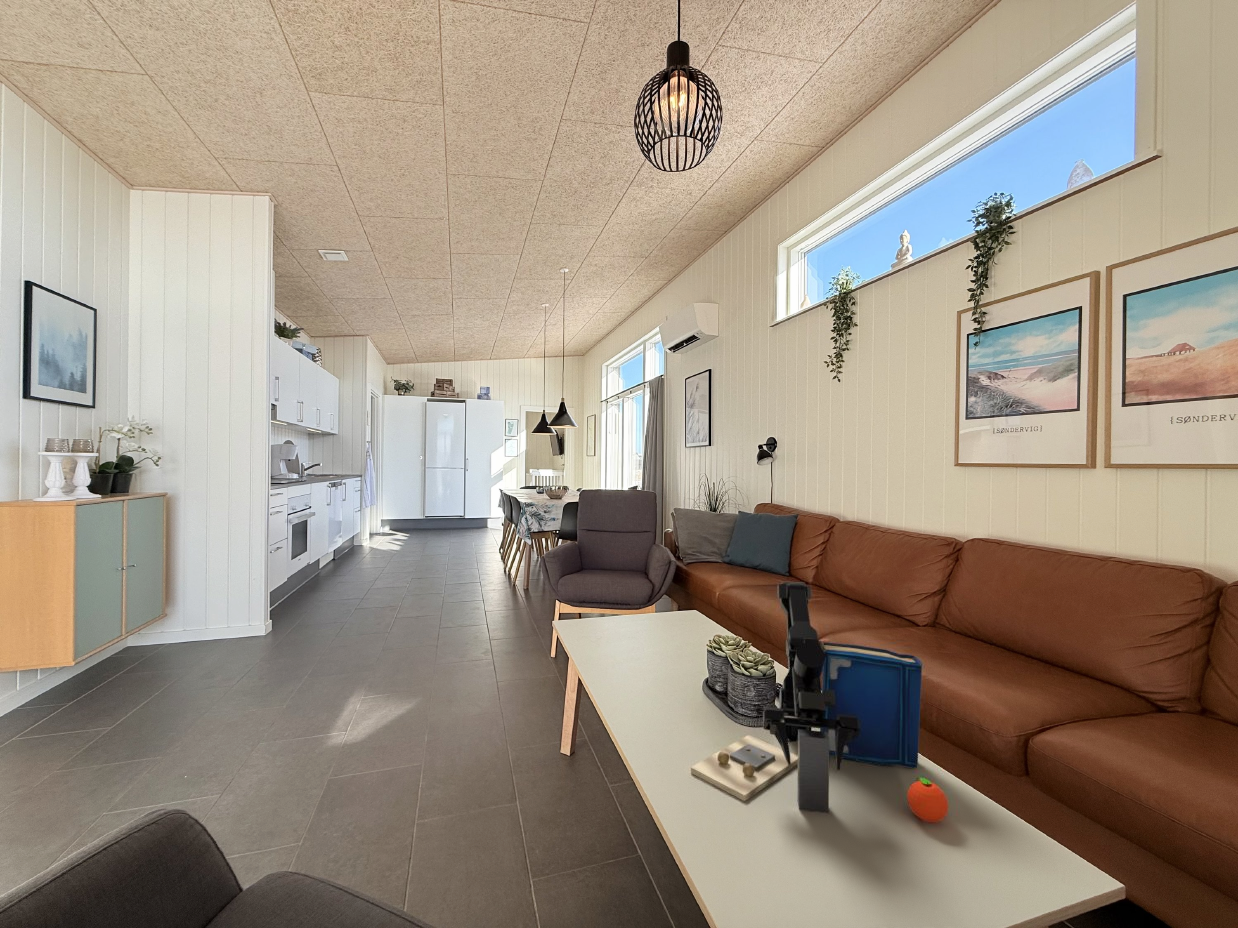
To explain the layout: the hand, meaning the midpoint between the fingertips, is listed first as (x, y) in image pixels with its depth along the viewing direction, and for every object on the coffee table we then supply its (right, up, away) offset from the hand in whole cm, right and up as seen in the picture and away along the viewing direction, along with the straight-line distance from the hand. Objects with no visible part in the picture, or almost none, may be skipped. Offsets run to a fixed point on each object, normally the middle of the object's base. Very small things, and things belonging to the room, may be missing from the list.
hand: (813, 767), depth 110 cm
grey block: (0, -8, +3) cm, 9 cm away
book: (+20, -9, +20) cm, 30 cm away
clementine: (+21, -9, -2) cm, 23 cm away
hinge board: (-10, -8, +15) cm, 20 cm away
